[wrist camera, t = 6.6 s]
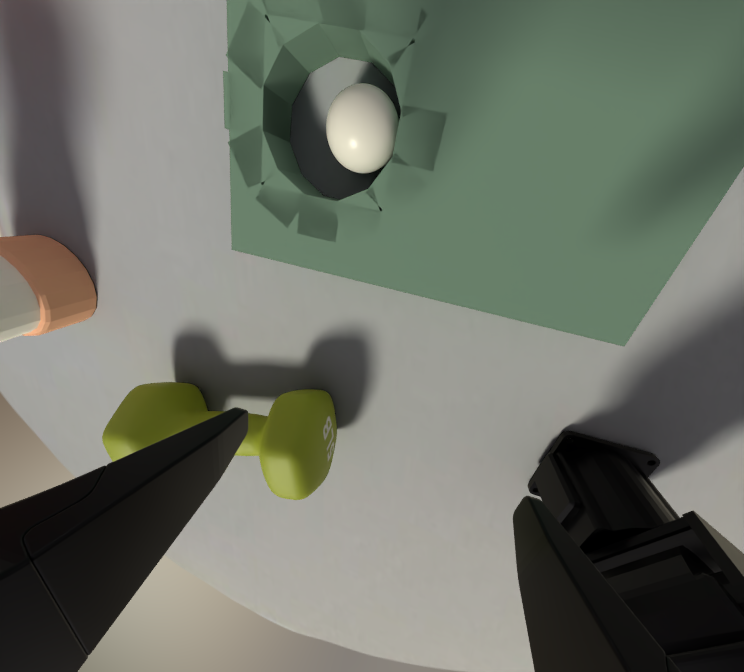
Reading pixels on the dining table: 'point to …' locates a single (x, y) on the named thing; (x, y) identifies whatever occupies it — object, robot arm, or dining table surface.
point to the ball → (362, 128)
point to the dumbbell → (264, 438)
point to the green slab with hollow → (499, 148)
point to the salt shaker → (41, 287)
